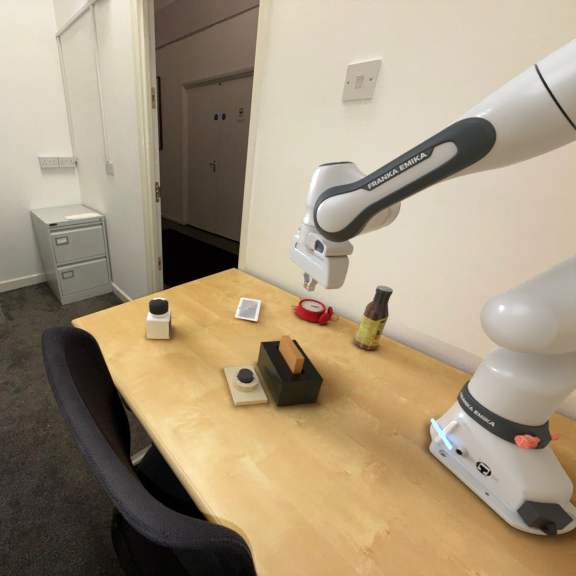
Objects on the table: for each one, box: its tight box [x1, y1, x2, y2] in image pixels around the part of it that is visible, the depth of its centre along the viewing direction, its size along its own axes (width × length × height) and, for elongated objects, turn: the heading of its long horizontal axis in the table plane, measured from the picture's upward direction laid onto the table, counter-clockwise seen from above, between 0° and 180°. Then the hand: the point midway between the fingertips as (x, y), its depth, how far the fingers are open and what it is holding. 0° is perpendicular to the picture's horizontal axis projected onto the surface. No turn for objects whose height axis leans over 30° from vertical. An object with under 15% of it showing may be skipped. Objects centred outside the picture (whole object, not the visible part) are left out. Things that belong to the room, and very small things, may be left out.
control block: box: [223, 365, 268, 406], centre depth 77 cm, size 12×8×3 cm, turn 8°
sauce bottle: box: [354, 285, 394, 351], centre depth 89 cm, size 7×6×20 cm
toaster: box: [256, 339, 324, 408], centre depth 77 cm, size 15×10×8 cm, turn 8°
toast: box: [278, 334, 304, 375], centre depth 76 cm, size 9×2×10 cm, turn 8°
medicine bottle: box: [145, 297, 172, 340], centre depth 94 cm, size 7×7×12 cm
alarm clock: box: [291, 297, 340, 325], centre depth 107 cm, size 10×6×15 cm
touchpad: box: [234, 296, 262, 322], centre depth 110 cm, size 8×15×2 cm, turn 163°
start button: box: [238, 368, 253, 384], centre depth 76 cm, size 4×4×2 cm
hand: (308, 288), depth 76 cm, fingers closed
